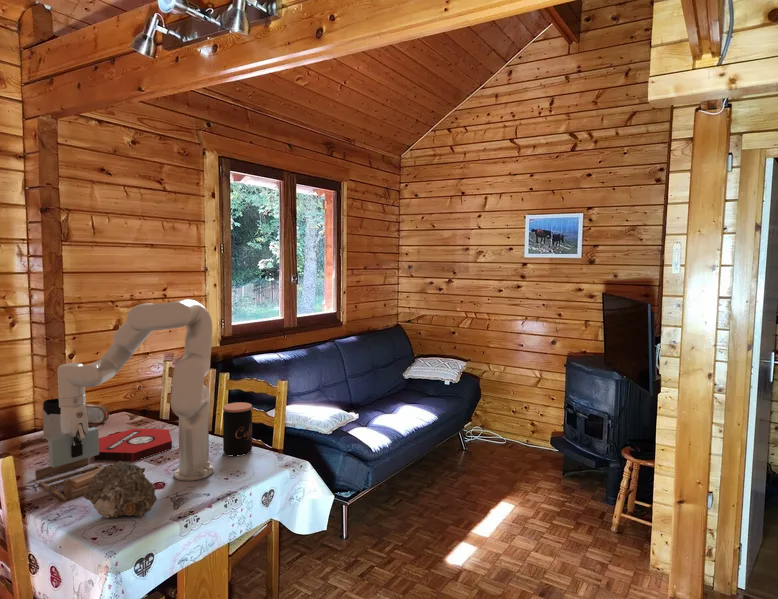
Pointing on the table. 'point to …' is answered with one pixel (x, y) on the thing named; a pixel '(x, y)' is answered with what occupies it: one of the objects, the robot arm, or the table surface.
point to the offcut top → (83, 479)
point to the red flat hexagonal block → (133, 444)
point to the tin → (96, 413)
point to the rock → (121, 491)
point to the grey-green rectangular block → (62, 448)
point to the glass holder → (51, 419)
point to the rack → (67, 482)
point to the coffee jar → (237, 428)
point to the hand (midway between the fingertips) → (74, 454)
